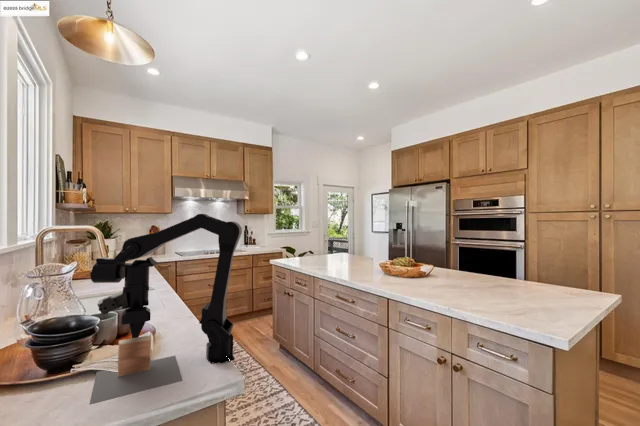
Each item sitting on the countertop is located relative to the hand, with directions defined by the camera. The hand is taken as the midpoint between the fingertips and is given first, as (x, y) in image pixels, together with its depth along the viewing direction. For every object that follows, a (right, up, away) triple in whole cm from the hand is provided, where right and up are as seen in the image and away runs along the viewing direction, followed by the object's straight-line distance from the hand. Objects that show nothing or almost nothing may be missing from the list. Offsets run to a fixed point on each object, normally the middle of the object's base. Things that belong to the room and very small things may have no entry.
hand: (134, 339), depth 80 cm
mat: (+6, -7, -8) cm, 12 cm away
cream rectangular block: (+3, -6, -5) cm, 9 cm away
